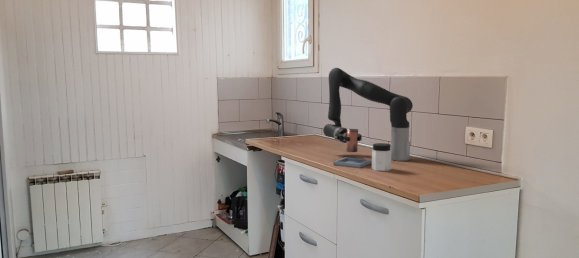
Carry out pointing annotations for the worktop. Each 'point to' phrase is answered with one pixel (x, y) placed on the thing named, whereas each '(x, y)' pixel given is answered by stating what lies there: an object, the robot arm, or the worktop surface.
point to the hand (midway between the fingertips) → (354, 139)
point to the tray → (352, 162)
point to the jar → (381, 157)
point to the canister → (352, 140)
